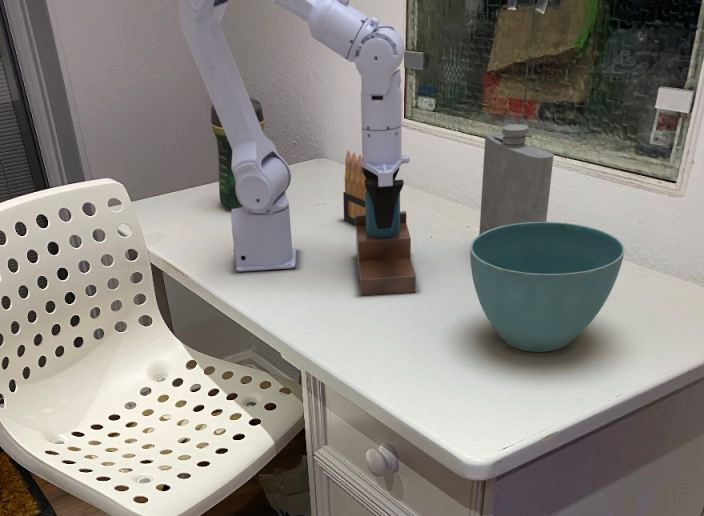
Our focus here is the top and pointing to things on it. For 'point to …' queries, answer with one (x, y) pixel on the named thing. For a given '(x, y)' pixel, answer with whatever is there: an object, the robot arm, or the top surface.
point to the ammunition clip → (354, 189)
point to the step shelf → (384, 260)
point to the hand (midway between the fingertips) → (382, 221)
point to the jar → (371, 223)
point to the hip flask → (514, 179)
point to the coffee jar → (229, 158)
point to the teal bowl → (543, 280)
